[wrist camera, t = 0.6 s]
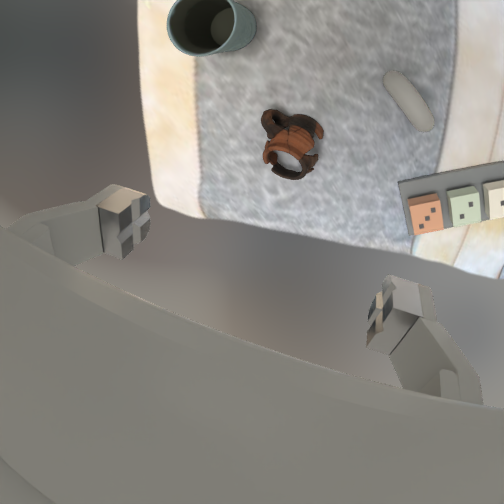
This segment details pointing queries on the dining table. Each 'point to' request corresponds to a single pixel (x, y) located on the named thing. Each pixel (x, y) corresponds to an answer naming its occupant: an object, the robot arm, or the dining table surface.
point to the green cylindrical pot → (209, 26)
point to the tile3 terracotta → (426, 214)
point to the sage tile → (464, 206)
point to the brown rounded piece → (290, 141)
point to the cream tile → (494, 199)
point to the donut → (409, 100)
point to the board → (450, 187)
